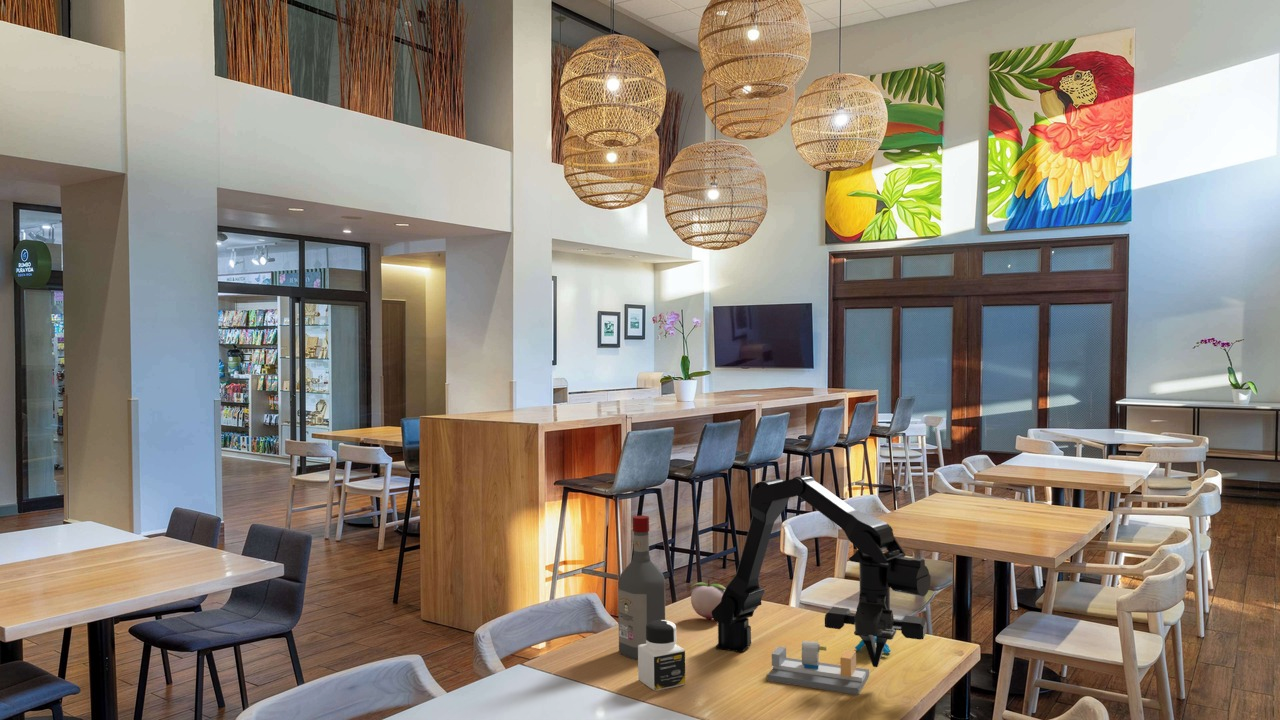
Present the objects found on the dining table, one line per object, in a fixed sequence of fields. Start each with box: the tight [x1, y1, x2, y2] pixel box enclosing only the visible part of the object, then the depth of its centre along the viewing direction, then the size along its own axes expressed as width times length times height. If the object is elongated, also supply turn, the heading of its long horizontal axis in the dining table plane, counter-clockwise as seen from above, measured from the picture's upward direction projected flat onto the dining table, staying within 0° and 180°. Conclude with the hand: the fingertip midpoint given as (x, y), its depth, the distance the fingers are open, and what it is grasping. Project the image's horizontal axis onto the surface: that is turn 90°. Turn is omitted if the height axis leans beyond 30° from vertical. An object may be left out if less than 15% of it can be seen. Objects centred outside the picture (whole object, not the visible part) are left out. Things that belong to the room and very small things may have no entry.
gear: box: [854, 636, 892, 654], centre depth 185 cm, size 11×6×10 cm
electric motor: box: [801, 640, 827, 669], centre depth 170 cm, size 7×5×5 cm
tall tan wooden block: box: [839, 649, 857, 677], centre depth 167 cm, size 2×5×4 cm, turn 154°
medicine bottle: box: [637, 619, 686, 692], centre depth 168 cm, size 7×7×12 cm
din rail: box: [766, 645, 870, 696], centre depth 169 cm, size 18×11×4 cm, turn 64°
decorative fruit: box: [690, 579, 726, 620], centre depth 208 cm, size 9×8×10 cm
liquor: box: [617, 515, 666, 661], centre depth 185 cm, size 9×9×30 cm
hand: (875, 666), depth 164 cm, fingers closed
